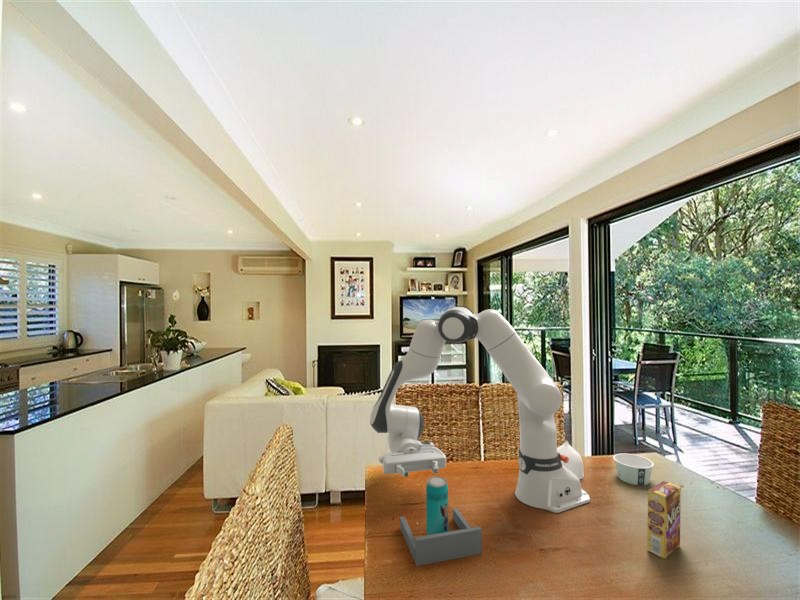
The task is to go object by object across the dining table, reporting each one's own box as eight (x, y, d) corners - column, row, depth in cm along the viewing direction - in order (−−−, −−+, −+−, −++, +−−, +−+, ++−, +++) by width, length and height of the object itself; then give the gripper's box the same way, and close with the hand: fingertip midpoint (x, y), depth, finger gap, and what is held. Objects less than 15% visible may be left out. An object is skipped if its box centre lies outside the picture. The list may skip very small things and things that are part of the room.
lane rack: (456, 518, 108) (456, 497, 108) (481, 553, 93) (481, 529, 93) (400, 527, 104) (399, 505, 104) (416, 566, 88) (416, 540, 88)
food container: (607, 470, 138) (607, 452, 138) (643, 472, 136) (643, 454, 136) (622, 486, 126) (622, 466, 126) (661, 488, 124) (661, 468, 124)
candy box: (666, 560, 90) (665, 496, 90) (646, 551, 93) (645, 489, 93) (682, 547, 94) (681, 486, 95) (662, 538, 98) (661, 479, 98)
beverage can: (442, 548, 95) (442, 488, 95) (422, 540, 98) (422, 482, 98) (452, 535, 100) (451, 479, 100) (432, 529, 103) (432, 474, 103)
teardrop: (563, 482, 129) (563, 447, 129) (544, 468, 140) (543, 436, 140) (591, 478, 132) (590, 443, 132) (569, 465, 142) (569, 433, 142)
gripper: (377, 447, 122) (387, 465, 109) (437, 441, 127) (453, 458, 114) (377, 466, 122) (386, 487, 109) (436, 460, 127) (452, 479, 114)
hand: (421, 472), depth 111 cm, fingers open, 8 cm apart
